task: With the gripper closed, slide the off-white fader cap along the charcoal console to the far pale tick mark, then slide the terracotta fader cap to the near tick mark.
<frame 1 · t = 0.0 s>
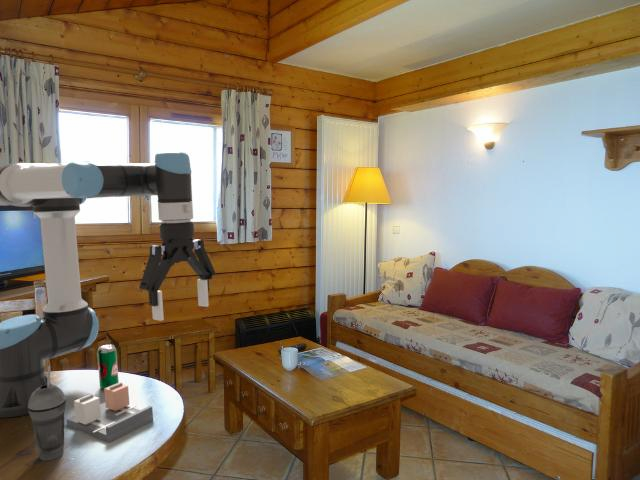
hand: (182, 312, 113), 28 cm above the table, fingers open, 13 cm apart
soda can: (109, 387, 141), on the table
fader a: (87, 408, 117), point 5 cm above the table, slide at 0.0 cm
console: (110, 422, 119), on the table
fader b: (116, 395, 124), point 5 cm above the table, slide at 0.0 cm
beverage cup: (52, 455, 105), on the table
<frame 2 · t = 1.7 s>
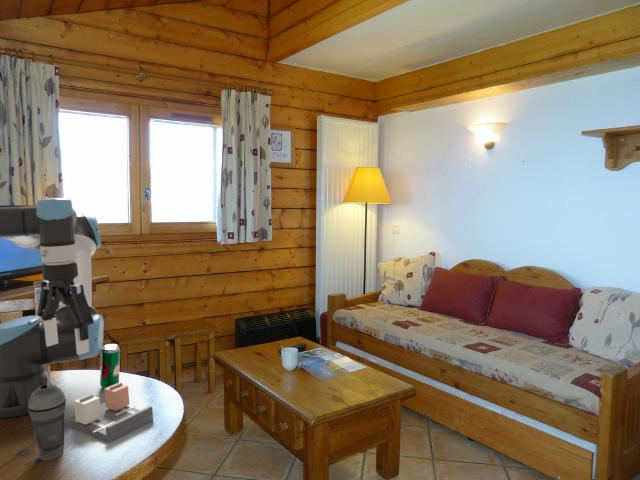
hand: (67, 348, 119), 18 cm above the table, fingers open, 12 cm apart
soda can: (109, 386, 141), on the table, touching arm
everything else where it was.
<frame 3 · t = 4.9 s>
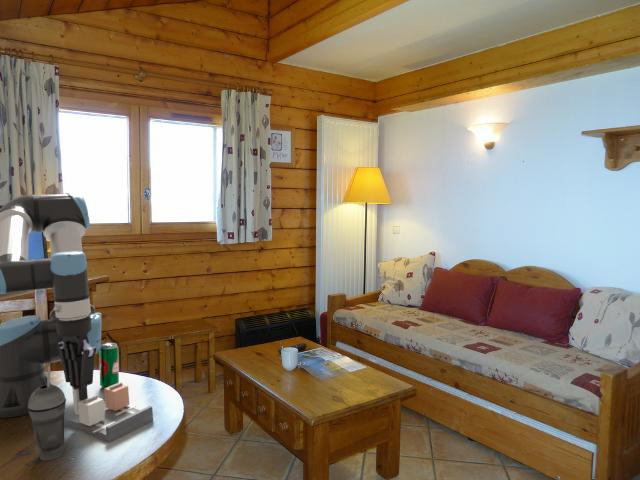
hand: (81, 411, 118), 3 cm above the table, fingers closed
soda can: (109, 386, 141), on the table
fader a: (91, 409, 116), point 5 cm above the table, slide at 1.6 cm, touching gripper
everything else where it was.
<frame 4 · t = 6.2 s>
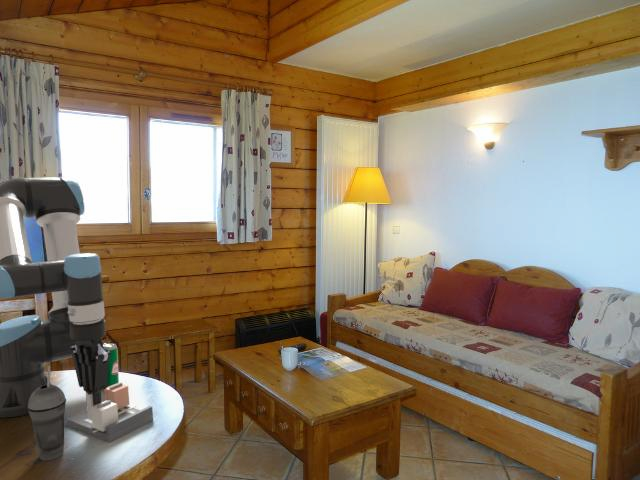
hand: (95, 417, 115), 3 cm above the table, fingers closed
soda can: (109, 386, 141), on the table, touching arm
fader a: (104, 414, 113), point 5 cm above the table, slide at 6.9 cm, touching gripper
everything else where it was.
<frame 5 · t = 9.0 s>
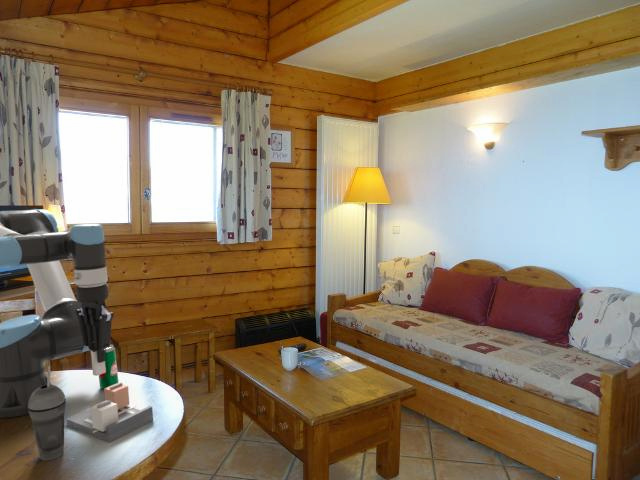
hand: (99, 373, 127), 9 cm above the table, fingers closed
soda can: (109, 387, 141), on the table
fader a: (104, 414, 113), point 5 cm above the table, slide at 6.9 cm
everything else where it was.
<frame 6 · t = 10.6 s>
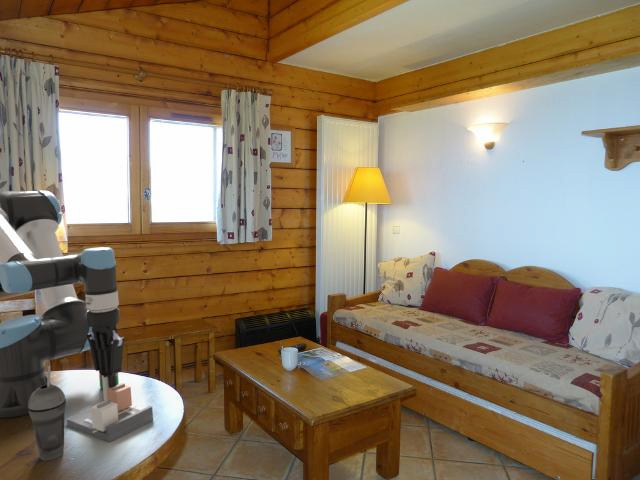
hand: (110, 398, 125), 3 cm above the table, fingers closed
fader b: (119, 396, 123), point 5 cm above the table, slide at 1.0 cm, touching gripper
everything else where it was.
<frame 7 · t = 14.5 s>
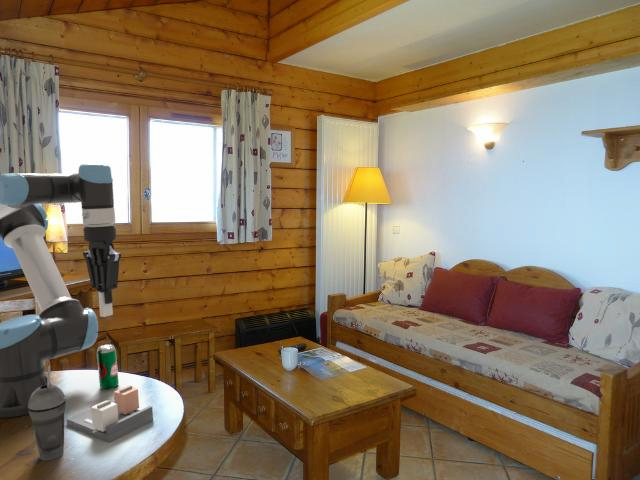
hand: (106, 315, 126), 24 cm above the table, fingers closed
fader b: (126, 398, 121), point 5 cm above the table, slide at 3.9 cm
everything else where it was.
at the end: fader a slide at 6.9 cm; fader b slide at 3.9 cm; fader a touching nothing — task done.
